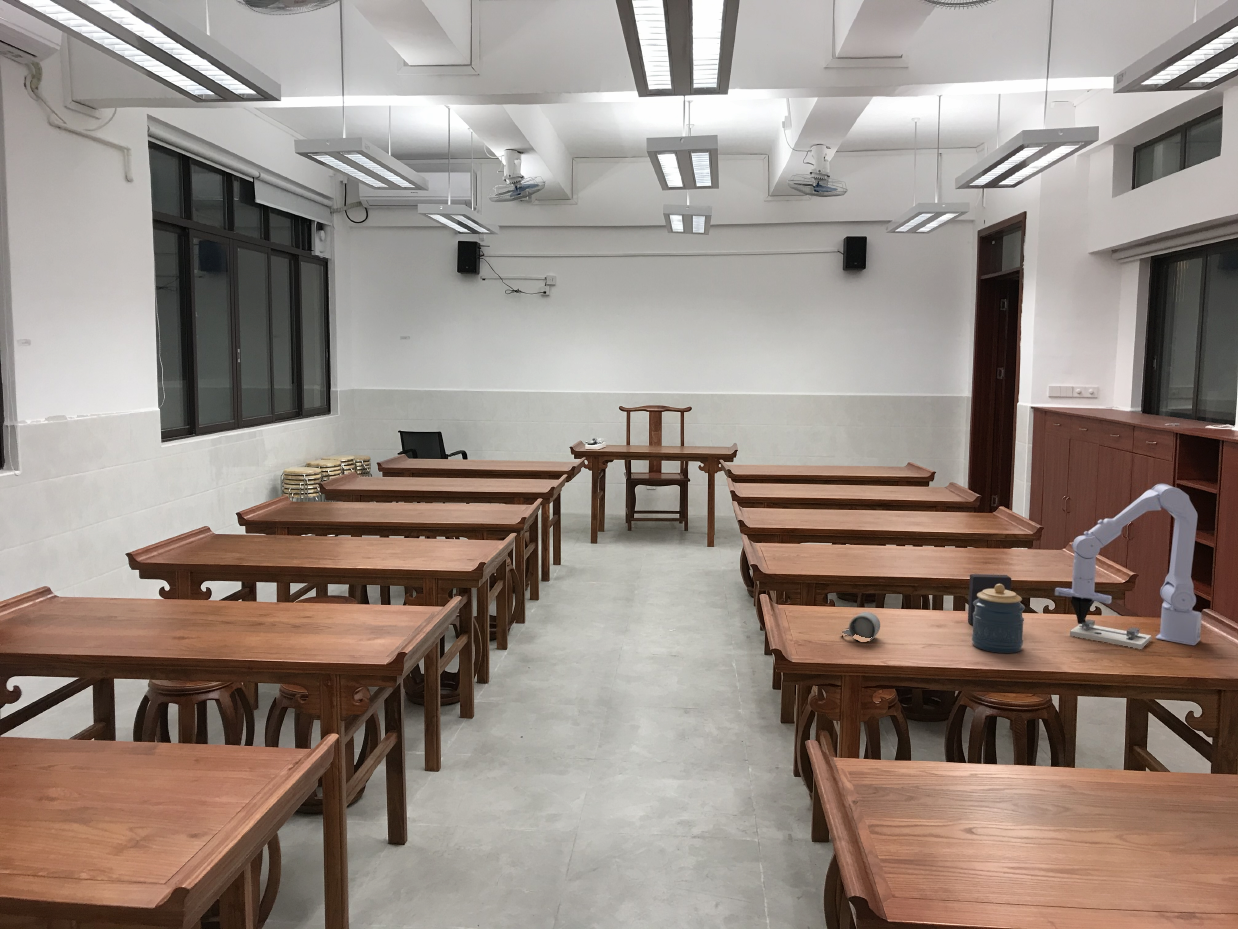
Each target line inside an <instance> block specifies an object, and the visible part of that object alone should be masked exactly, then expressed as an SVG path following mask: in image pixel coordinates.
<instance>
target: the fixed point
mask: <svg viewBox="0 0 1238 929" xmlns="http://www.w3.org/2000/svg"><path fill="white" fill-rule="evenodd" d="M1126 631H1127V634H1126V636H1127V637H1129V638H1131V637H1133V638H1135V637H1136V636H1137V635H1138V634H1139V633H1140V628H1138V627H1134V626H1133V627H1132V626H1131V627H1130V628H1129V629H1127V630H1126Z"/></svg>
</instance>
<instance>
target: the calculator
mask: <svg viewBox="0 0 1238 929" xmlns="http://www.w3.org/2000/svg"><path fill="white" fill-rule="evenodd" d="M968 584H969V589H968V609H967V611H968V612H967V623H968V624H970V625H971V626H973V613H974V612H975V605H974V604H973V602H974V601H975V600H977V599H978V598H979V597H978V596H977V594H978V593H979V592H982V591H983V590H985V589H994V587H995V585H997V584H1002V585H1003V586H1004V588H1005V590H1009V591H1011V590H1012V577H1010V576H1009V575H1008V574H989V573H988V574H987V573H986V574H985V573H984V574H983V573H982V574H981V573H977V574H976V573H971V574H969V582H968Z"/></svg>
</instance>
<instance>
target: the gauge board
mask: <svg viewBox="0 0 1238 929" xmlns="http://www.w3.org/2000/svg"><path fill="white" fill-rule="evenodd" d="M1126 634H1127V630H1122V629H1116V628H1112V627H1105V626H1102V625H1095V626H1094V627H1092V628H1091V629H1086V630H1085V629H1084V628H1082V624H1077V626H1075V627H1074V628H1072V629H1071V630H1070V631H1069V637H1073V636H1075V637H1074V638H1078V637H1080V638H1079V639H1083V638H1086V639H1085V640H1088V639H1092V640H1091V641H1093V640H1098V641H1104V642H1109V643H1114V644H1119V645H1123V646H1122V647H1124V646H1128V647H1127V648H1130V647H1133V648H1132V649H1135V648H1138V649H1137V650H1140V649H1141V650H1142V649H1143V648H1145V647H1144V646H1145V645H1146V644H1147V643H1148V642H1149V641H1150V640H1151V641H1152V635H1149V634H1144V633H1140V632H1139V634H1138V635H1137V636H1136V637H1135V638H1133V637H1131V638H1129V637H1127V636H1126ZM1098 641H1097V642H1098ZM1151 641H1150V642H1151ZM1104 642H1103V643H1104ZM1150 642H1149V643H1150ZM1109 643H1108V644H1109ZM1149 643H1148V644H1149ZM1114 644H1113V645H1114ZM1148 644H1147V645H1148ZM1119 645H1118V646H1119ZM1147 645H1146V646H1147Z"/></svg>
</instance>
